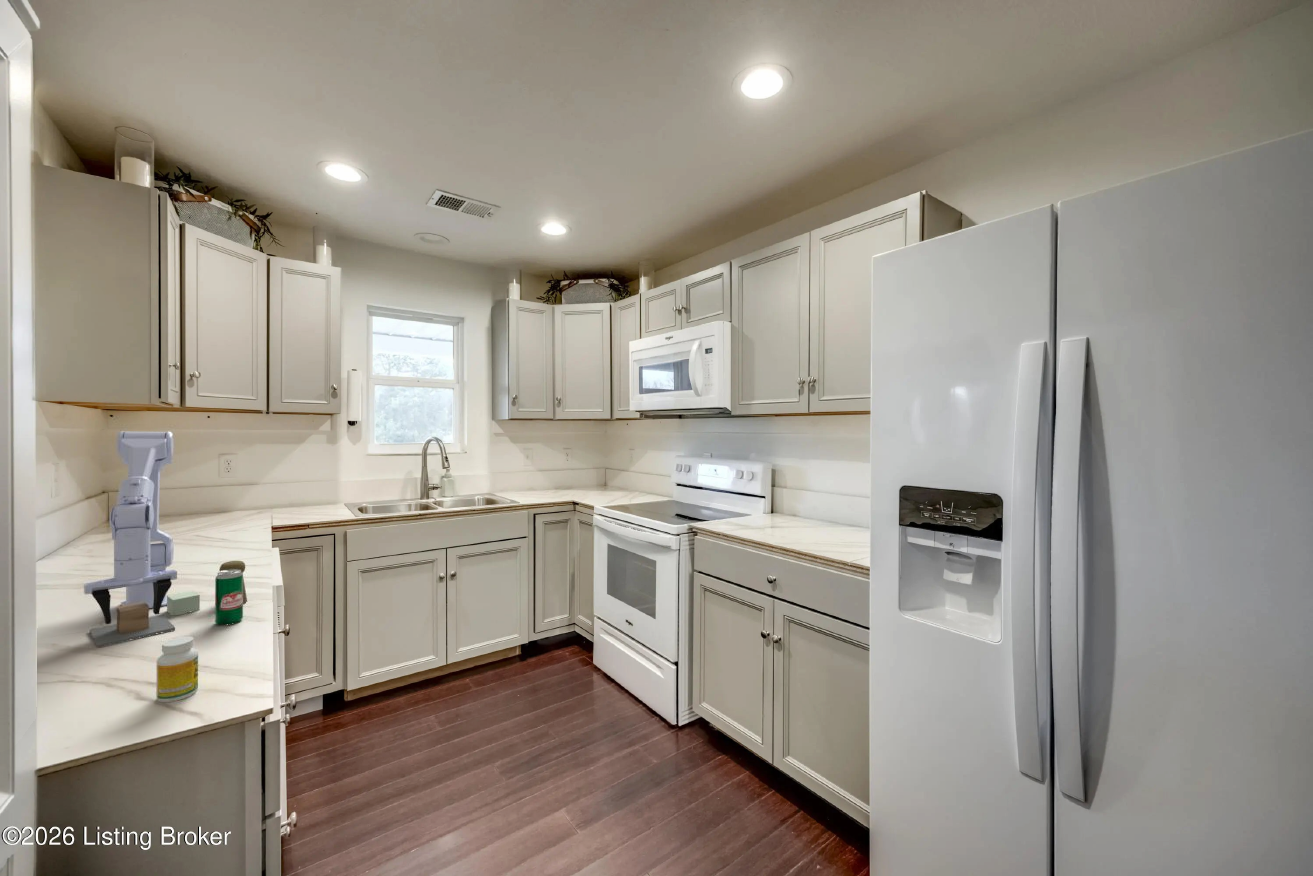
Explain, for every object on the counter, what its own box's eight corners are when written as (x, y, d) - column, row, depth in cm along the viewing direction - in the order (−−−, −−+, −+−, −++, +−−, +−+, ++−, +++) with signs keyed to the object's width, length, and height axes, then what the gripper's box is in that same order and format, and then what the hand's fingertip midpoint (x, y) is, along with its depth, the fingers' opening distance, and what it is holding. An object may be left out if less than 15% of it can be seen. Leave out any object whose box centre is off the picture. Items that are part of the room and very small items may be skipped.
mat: (89, 632, 115) (89, 629, 115) (163, 616, 125) (163, 614, 125) (97, 647, 108) (97, 644, 108) (175, 630, 117) (175, 627, 117)
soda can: (220, 628, 119) (220, 576, 119) (211, 622, 122) (211, 572, 122) (246, 621, 124) (246, 571, 123) (237, 616, 126) (237, 567, 126)
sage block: (166, 611, 128) (166, 595, 128) (193, 606, 133) (193, 590, 132) (172, 616, 126) (172, 600, 125) (199, 610, 130) (199, 594, 130)
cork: (230, 609, 131) (230, 565, 131) (210, 606, 132) (210, 563, 132) (253, 601, 137) (253, 559, 136) (234, 598, 138) (234, 557, 138)
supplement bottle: (153, 695, 90) (153, 641, 90) (194, 684, 95) (194, 632, 94) (159, 707, 87) (159, 650, 87) (201, 694, 91) (201, 640, 91)
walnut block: (116, 628, 116) (116, 606, 116) (144, 623, 119) (144, 601, 119) (120, 634, 113) (120, 611, 113) (148, 628, 117) (148, 606, 117)
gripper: (86, 567, 108) (87, 632, 108) (180, 554, 119) (180, 613, 120) (82, 561, 112) (82, 623, 112) (173, 549, 123) (173, 605, 124)
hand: (132, 617), depth 116 cm, fingers open, 7 cm apart
